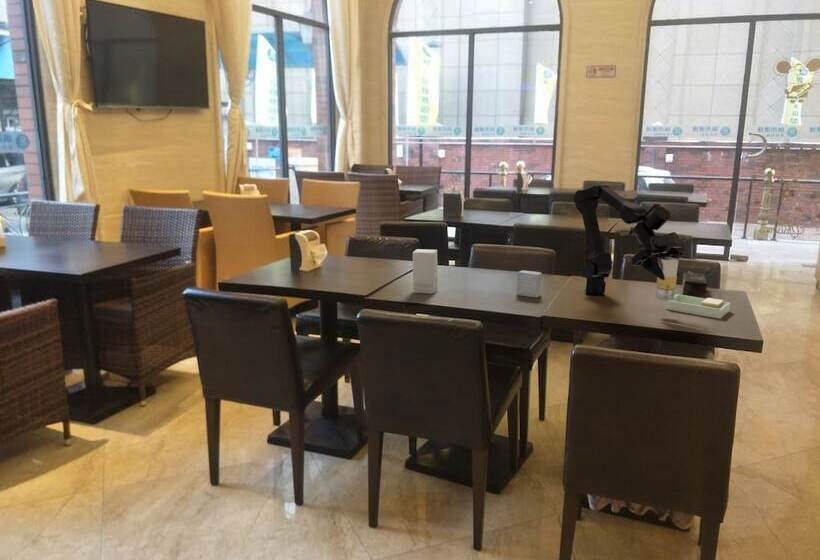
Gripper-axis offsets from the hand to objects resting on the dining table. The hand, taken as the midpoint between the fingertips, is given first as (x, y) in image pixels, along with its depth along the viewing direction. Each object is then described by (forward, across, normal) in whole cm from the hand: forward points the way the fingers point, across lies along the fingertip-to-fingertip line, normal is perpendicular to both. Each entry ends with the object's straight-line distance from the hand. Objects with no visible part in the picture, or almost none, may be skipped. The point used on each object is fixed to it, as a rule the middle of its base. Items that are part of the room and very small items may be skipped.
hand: (670, 277), depth 206 cm
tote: (+9, +16, +10) cm, 21 cm away
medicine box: (-20, -24, +39) cm, 50 cm away
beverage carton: (-5, +36, +25) cm, 44 cm away
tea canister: (+4, 0, +6) cm, 7 cm away
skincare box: (-33, -57, +53) cm, 85 cm away
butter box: (+11, +18, +7) cm, 22 cm away
